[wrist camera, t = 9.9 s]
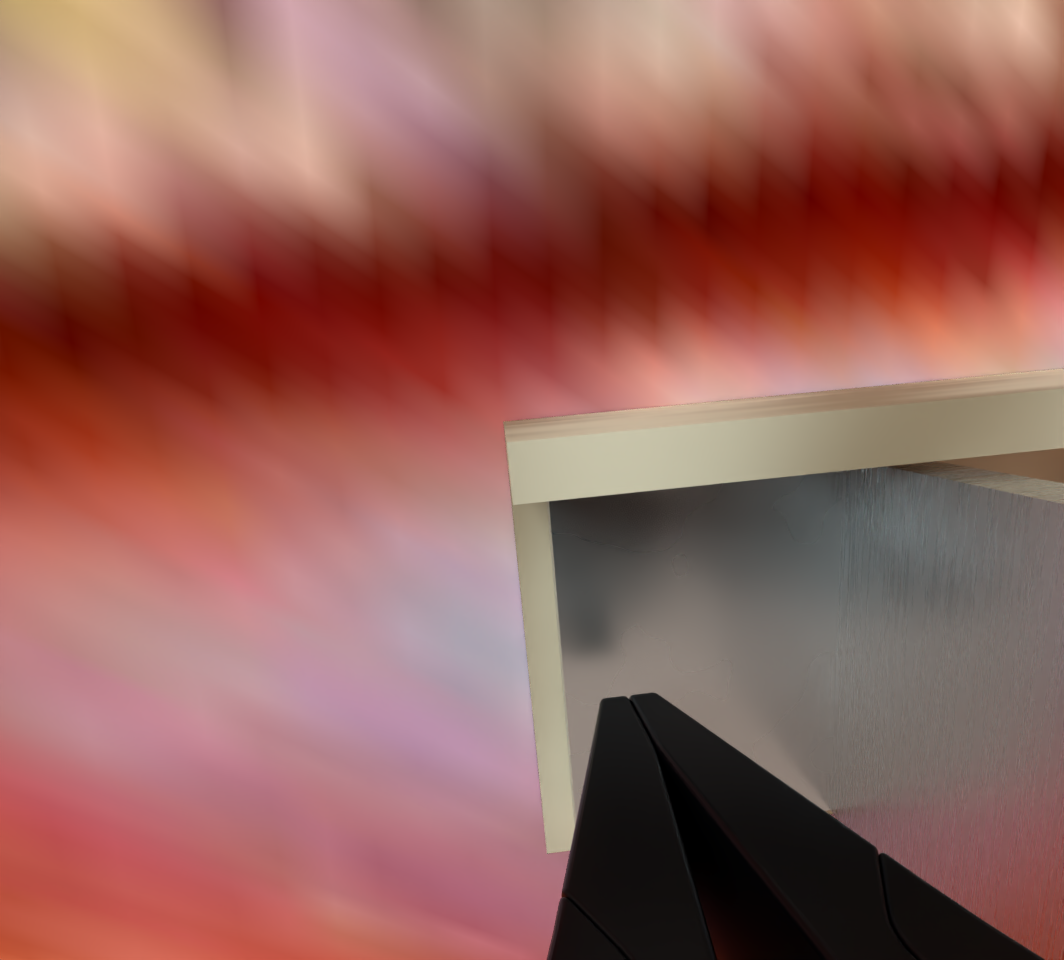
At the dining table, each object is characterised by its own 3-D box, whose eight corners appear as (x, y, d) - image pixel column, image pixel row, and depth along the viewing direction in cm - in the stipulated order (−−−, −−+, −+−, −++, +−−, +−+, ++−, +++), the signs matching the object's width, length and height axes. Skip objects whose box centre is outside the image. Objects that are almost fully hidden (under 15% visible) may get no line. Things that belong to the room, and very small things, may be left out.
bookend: (867, 449, 9) (1463, 553, 3) (852, 784, 10) (1257, 1242, 5) (544, 481, 8) (628, 653, 3) (573, 822, 10) (666, 1354, 4)
